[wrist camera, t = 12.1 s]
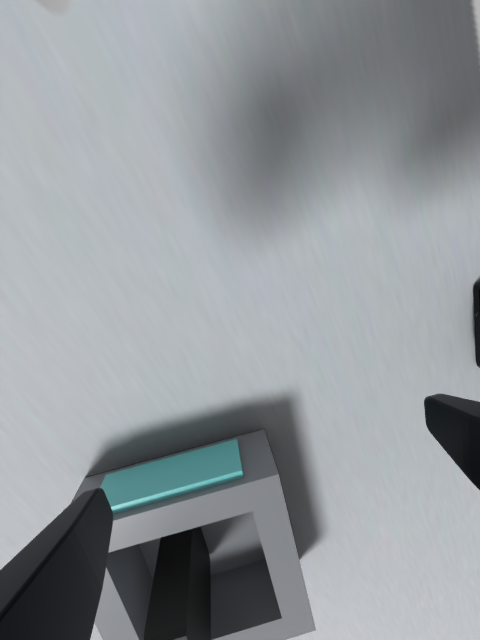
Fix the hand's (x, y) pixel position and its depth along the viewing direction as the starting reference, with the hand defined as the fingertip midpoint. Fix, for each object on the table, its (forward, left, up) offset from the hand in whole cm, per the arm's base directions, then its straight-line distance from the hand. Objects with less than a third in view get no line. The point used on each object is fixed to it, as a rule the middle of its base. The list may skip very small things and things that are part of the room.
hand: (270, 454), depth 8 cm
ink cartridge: (+7, +14, -12) cm, 20 cm away
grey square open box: (+6, +14, -12) cm, 19 cm away
